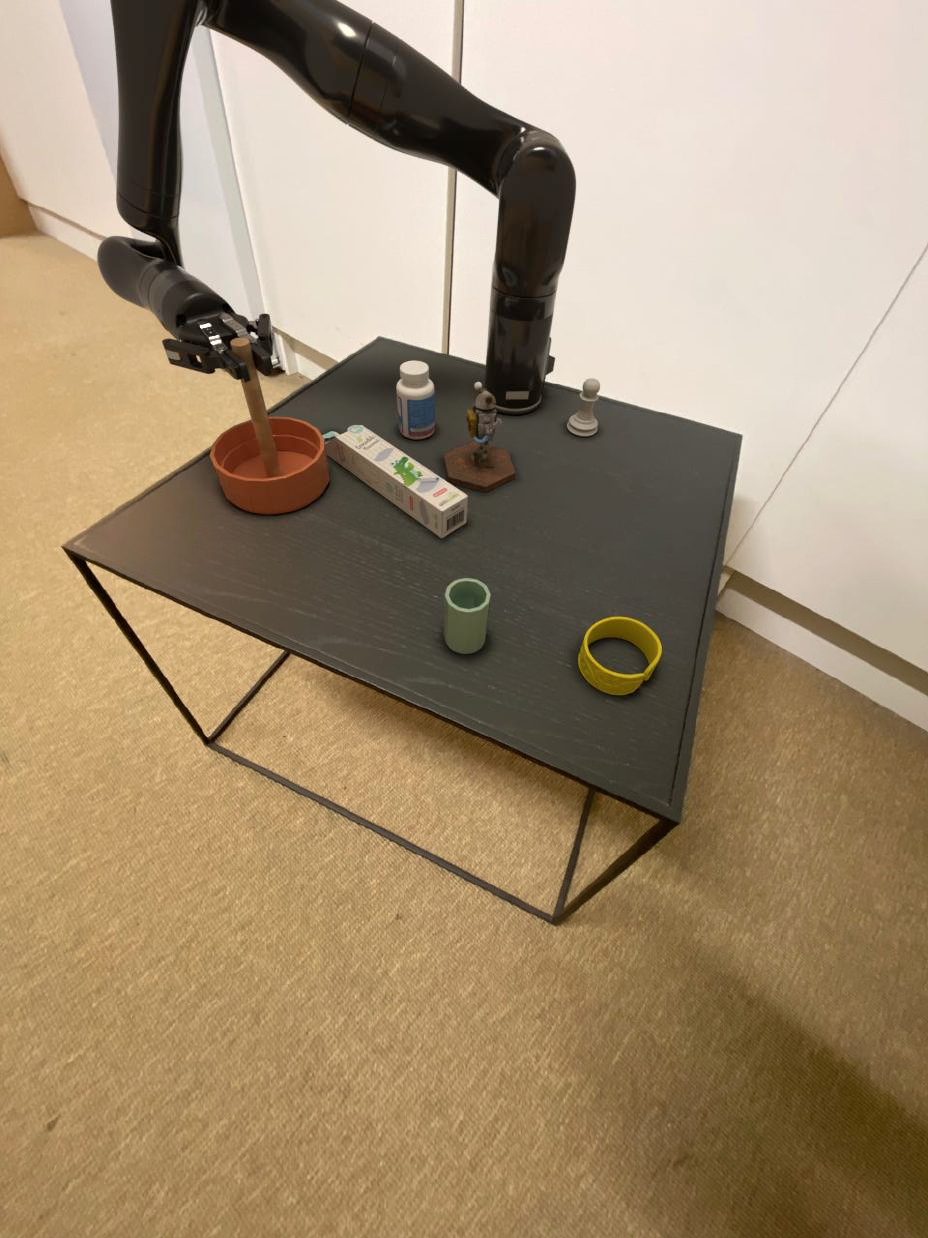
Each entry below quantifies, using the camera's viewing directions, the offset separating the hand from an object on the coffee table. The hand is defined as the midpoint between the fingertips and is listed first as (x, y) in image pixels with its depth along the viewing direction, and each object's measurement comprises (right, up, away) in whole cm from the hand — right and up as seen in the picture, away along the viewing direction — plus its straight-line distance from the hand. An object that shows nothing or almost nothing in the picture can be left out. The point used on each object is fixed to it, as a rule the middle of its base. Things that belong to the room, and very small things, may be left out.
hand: (256, 370), depth 62 cm
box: (+12, -8, +16) cm, 21 cm away
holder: (+23, -29, -1) cm, 37 cm away
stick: (-3, -8, +14) cm, 16 cm away
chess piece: (+41, +2, +25) cm, 48 cm away
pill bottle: (+16, +1, +24) cm, 28 cm away
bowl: (-2, -9, +14) cm, 17 cm away
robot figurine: (+25, -6, +18) cm, 31 cm away
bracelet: (+39, -32, -2) cm, 50 cm away
